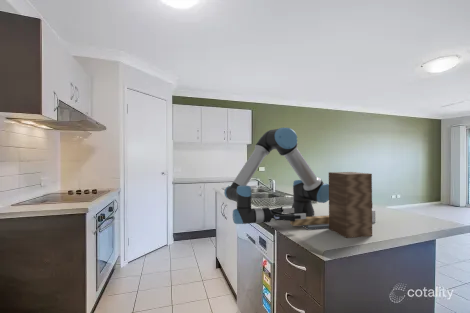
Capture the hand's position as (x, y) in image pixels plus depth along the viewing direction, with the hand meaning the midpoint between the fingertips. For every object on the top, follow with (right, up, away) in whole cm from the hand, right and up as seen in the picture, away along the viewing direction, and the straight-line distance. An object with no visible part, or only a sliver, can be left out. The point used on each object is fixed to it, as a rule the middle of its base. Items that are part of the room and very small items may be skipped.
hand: (299, 213), depth 127 cm
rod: (+8, -6, +2) cm, 11 cm away
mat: (+10, -8, +2) cm, 12 cm away
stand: (+23, -8, -9) cm, 26 cm away
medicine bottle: (+43, -8, +11) cm, 45 cm away
